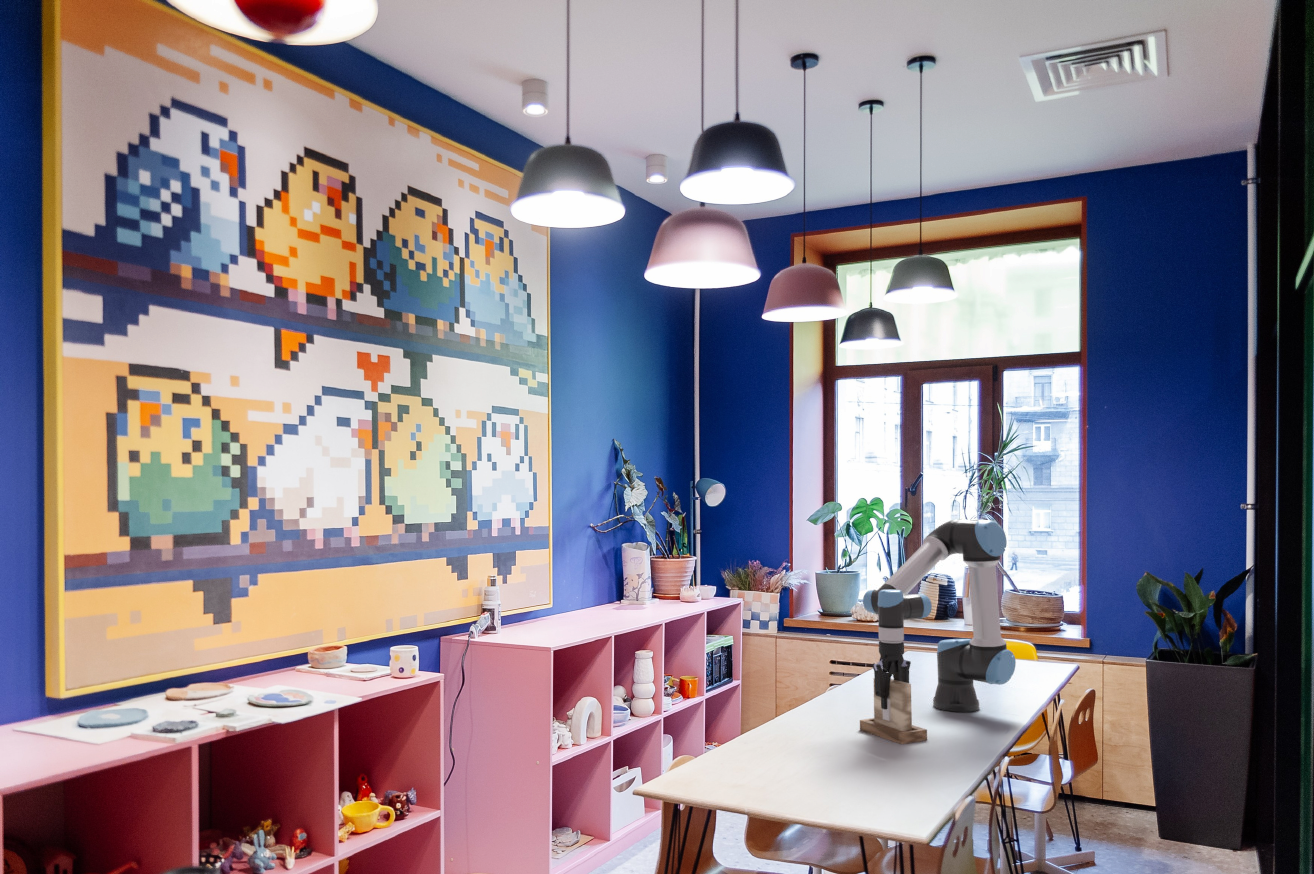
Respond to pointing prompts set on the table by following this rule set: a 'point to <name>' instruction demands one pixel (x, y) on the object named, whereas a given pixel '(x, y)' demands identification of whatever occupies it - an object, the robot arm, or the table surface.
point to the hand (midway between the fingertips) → (892, 718)
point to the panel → (896, 706)
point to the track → (893, 732)
